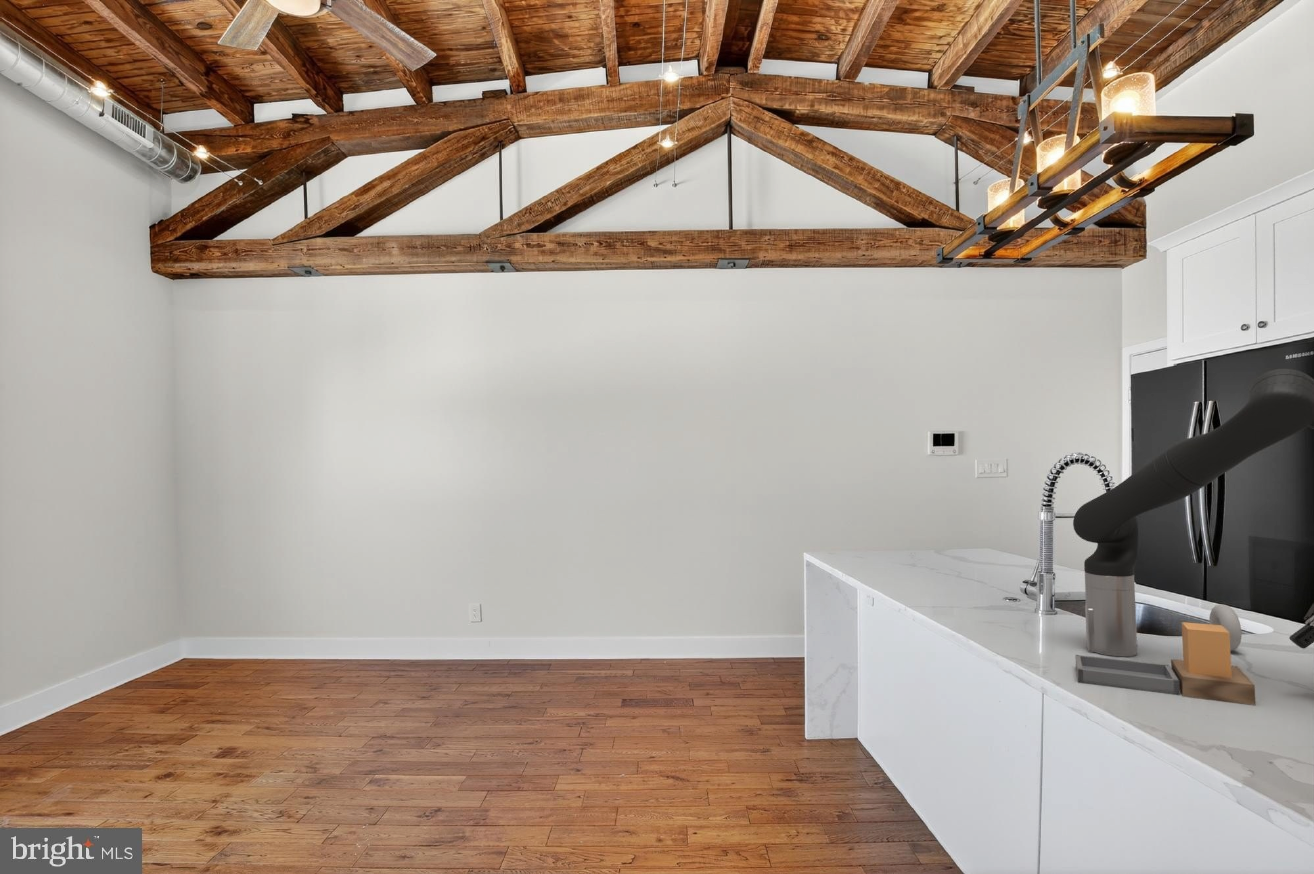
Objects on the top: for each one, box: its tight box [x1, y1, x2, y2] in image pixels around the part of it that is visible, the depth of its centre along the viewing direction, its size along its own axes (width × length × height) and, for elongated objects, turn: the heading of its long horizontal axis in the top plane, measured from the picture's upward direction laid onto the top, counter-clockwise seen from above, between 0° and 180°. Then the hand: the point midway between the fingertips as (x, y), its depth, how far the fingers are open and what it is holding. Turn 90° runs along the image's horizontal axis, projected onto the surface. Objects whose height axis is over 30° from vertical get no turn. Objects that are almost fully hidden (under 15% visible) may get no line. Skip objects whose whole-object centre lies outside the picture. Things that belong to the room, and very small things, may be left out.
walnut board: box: [1170, 658, 1256, 706], centre depth 125 cm, size 10×12×4 cm
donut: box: [1208, 603, 1242, 652], centre depth 150 cm, size 10×4×10 cm, turn 158°
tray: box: [1074, 654, 1181, 696], centre depth 131 cm, size 16×11×2 cm
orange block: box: [1181, 621, 1232, 678], centre depth 125 cm, size 6×6×8 cm
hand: (1295, 643), depth 119 cm, fingers closed
